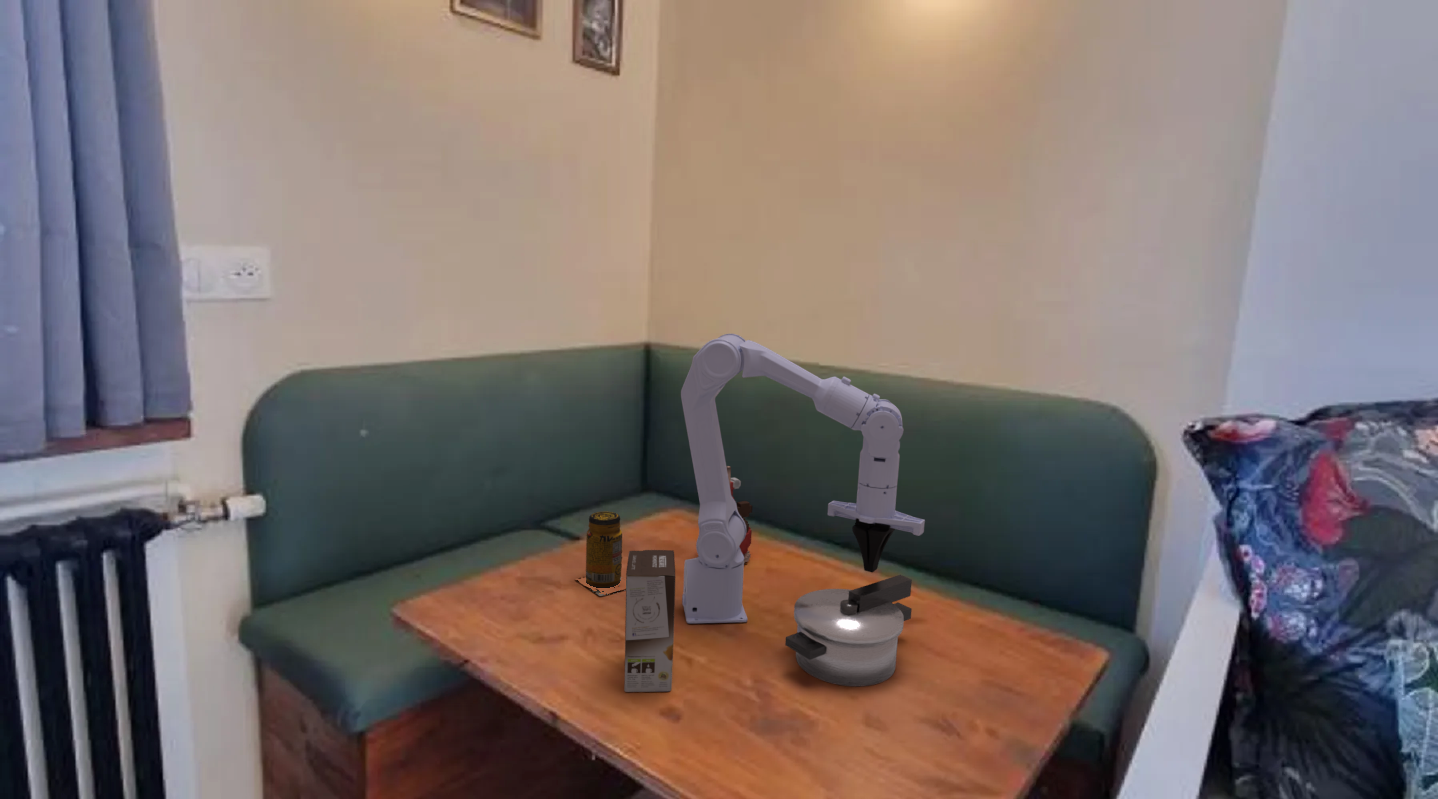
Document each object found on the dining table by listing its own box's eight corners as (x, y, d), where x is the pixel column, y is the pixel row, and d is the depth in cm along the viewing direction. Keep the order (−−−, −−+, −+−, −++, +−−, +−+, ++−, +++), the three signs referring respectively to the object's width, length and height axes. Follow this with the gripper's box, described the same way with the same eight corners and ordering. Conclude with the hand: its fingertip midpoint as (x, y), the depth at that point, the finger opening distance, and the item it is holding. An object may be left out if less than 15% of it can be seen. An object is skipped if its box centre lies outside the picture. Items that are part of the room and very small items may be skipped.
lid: (849, 656, 101) (851, 630, 100) (771, 611, 112) (773, 588, 112) (945, 619, 112) (948, 595, 112) (866, 582, 124) (867, 560, 124)
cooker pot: (833, 703, 101) (836, 660, 100) (761, 658, 112) (763, 618, 111) (940, 656, 114) (943, 617, 113) (867, 619, 125) (870, 583, 124)
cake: (713, 573, 141) (717, 476, 138) (687, 556, 149) (690, 463, 145) (762, 563, 146) (766, 469, 143) (734, 546, 154) (738, 457, 151)
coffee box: (673, 692, 102) (676, 575, 99) (623, 693, 102) (625, 575, 99) (671, 657, 111) (674, 549, 108) (625, 657, 111) (627, 548, 108)
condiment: (610, 571, 140) (611, 506, 138) (637, 587, 134) (638, 520, 132) (574, 580, 136) (574, 514, 134) (599, 598, 129) (600, 528, 127)
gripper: (821, 479, 117) (815, 566, 120) (916, 498, 110) (908, 590, 112) (840, 470, 123) (834, 552, 126) (932, 487, 116) (924, 574, 118)
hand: (870, 569), depth 119 cm, fingers closed
